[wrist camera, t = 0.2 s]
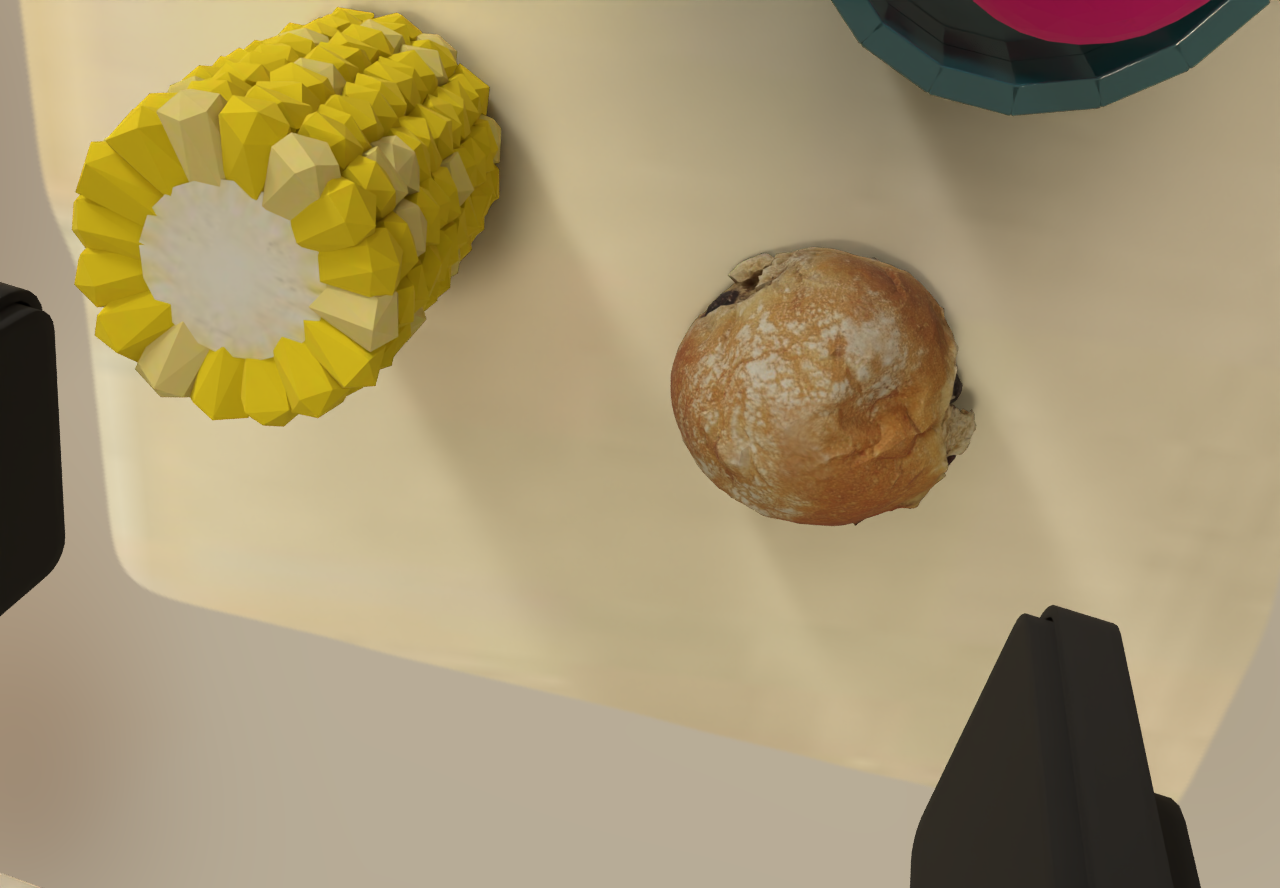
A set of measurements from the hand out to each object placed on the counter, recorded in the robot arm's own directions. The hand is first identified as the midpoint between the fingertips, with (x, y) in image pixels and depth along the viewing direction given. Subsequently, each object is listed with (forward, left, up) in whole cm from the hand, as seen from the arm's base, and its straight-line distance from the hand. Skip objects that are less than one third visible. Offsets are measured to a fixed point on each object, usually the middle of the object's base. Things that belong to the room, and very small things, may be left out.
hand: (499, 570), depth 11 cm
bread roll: (+11, +4, -31) cm, 34 cm away
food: (+7, -13, -31) cm, 35 cm away
